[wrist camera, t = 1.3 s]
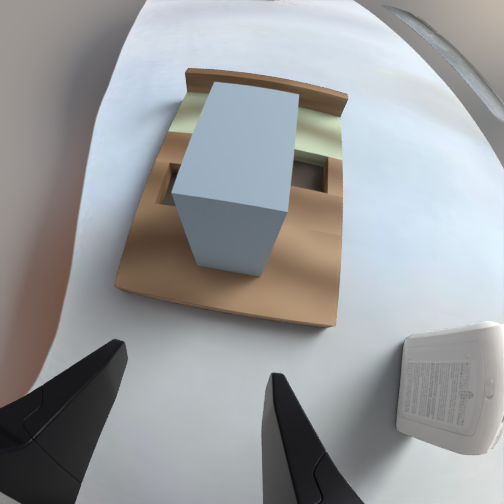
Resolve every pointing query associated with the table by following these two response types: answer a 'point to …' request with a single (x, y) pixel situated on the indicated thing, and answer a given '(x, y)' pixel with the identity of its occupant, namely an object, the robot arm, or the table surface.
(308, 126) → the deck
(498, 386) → the photo printer
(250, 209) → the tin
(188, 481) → the table surface
